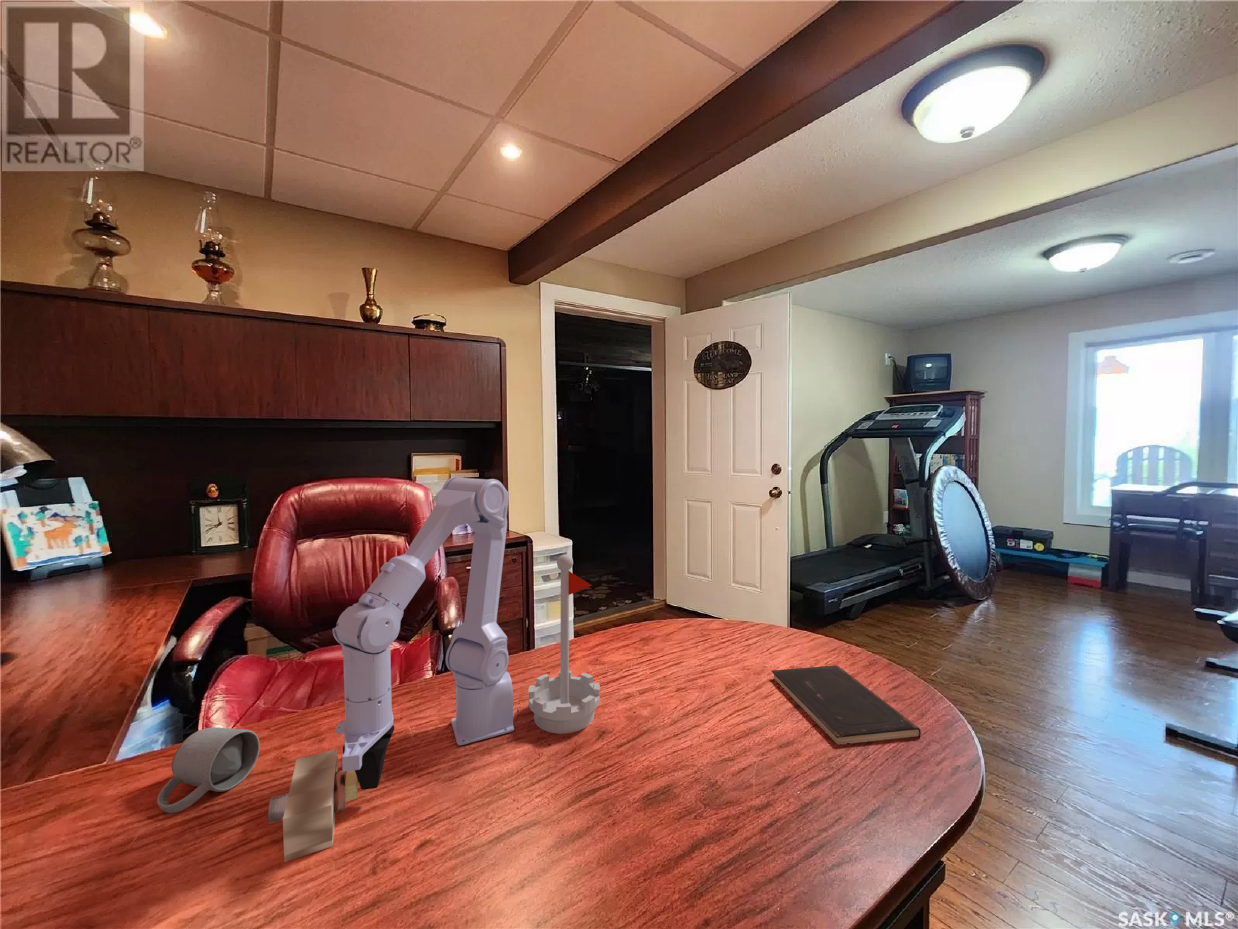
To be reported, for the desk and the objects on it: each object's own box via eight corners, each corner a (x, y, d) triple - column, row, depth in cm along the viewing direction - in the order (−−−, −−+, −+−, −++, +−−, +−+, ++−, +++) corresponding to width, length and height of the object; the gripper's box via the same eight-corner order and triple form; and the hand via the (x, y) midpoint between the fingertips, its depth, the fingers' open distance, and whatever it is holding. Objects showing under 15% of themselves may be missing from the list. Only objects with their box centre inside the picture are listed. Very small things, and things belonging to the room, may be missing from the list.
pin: (346, 794, 68) (345, 762, 68) (344, 818, 64) (343, 784, 64) (274, 815, 65) (273, 781, 64) (267, 842, 60) (266, 805, 60)
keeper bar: (358, 813, 66) (358, 781, 65) (343, 818, 65) (342, 785, 65) (362, 768, 75) (362, 739, 74) (349, 771, 74) (348, 742, 74)
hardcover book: (836, 749, 81) (836, 736, 81) (771, 680, 104) (771, 670, 104) (920, 740, 84) (921, 727, 84) (839, 675, 106) (839, 664, 106)
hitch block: (338, 784, 71) (337, 749, 71) (332, 846, 60) (331, 804, 60) (297, 795, 69) (296, 759, 69) (284, 862, 58) (282, 819, 58)
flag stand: (515, 729, 85) (514, 560, 83) (547, 692, 97) (547, 544, 96) (584, 743, 81) (585, 567, 79) (609, 703, 94) (610, 549, 92)
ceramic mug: (219, 759, 76) (216, 713, 76) (262, 767, 75) (259, 720, 74) (140, 812, 66) (136, 758, 65) (188, 822, 64) (184, 767, 64)
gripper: (354, 668, 73) (356, 755, 74) (314, 725, 59) (317, 831, 60) (404, 665, 74) (406, 750, 75) (376, 719, 60) (378, 823, 61)
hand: (370, 785), depth 68 cm, fingers closed
